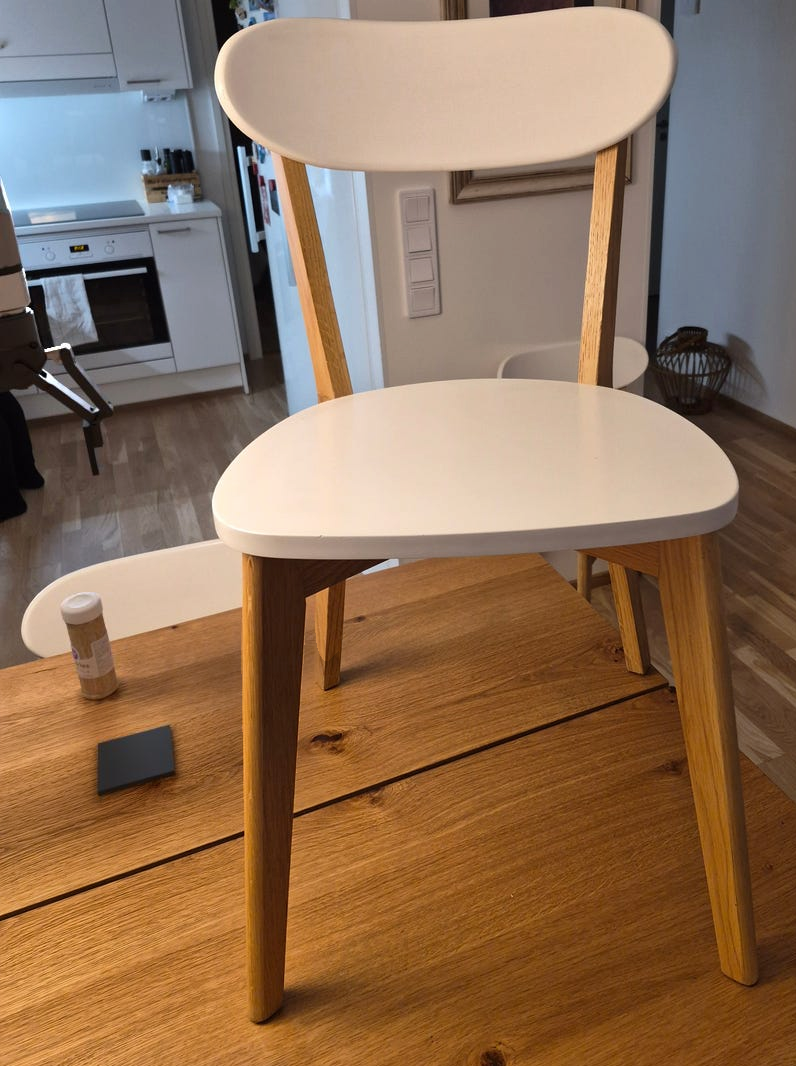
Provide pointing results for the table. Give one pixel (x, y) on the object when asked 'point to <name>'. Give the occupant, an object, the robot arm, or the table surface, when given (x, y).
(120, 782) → the mat
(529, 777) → the table surface
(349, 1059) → the table surface
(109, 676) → the sprinkles bottle
